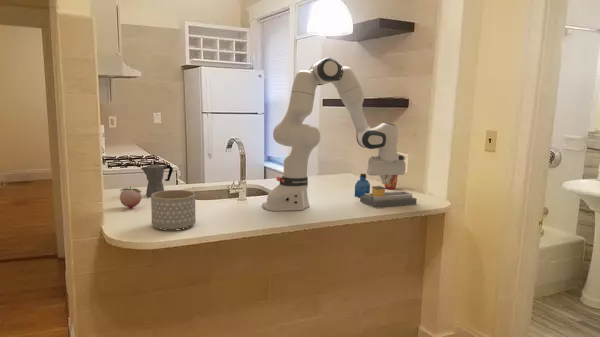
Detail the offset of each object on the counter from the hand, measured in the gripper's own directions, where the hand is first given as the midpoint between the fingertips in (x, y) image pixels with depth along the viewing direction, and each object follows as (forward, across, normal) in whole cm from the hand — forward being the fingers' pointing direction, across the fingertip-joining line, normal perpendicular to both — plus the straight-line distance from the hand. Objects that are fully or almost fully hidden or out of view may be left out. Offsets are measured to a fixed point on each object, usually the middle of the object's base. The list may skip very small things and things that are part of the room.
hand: (385, 184), depth 219 cm
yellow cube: (+7, -3, 0) cm, 8 cm away
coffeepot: (+12, -103, +49) cm, 115 cm away
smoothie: (+9, +25, +32) cm, 42 cm away
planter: (+12, -102, -8) cm, 103 cm away
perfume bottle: (+10, -2, +18) cm, 21 cm away
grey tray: (+10, +3, +1) cm, 10 cm away
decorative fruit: (+12, -117, +26) cm, 120 cm away
